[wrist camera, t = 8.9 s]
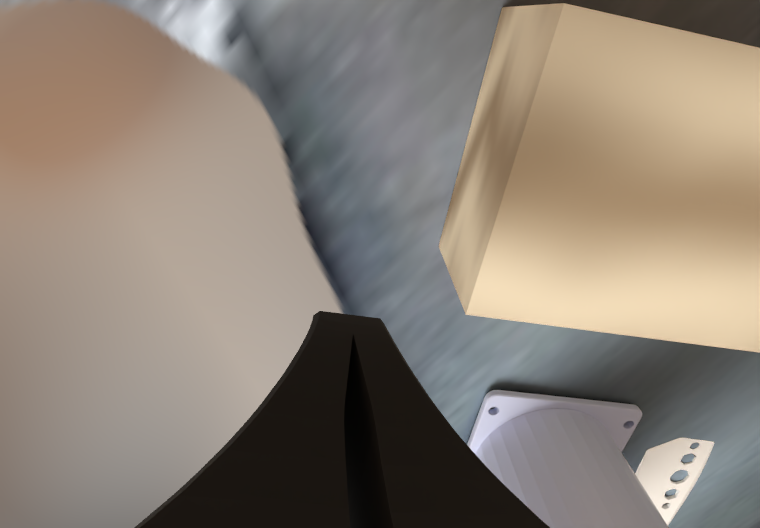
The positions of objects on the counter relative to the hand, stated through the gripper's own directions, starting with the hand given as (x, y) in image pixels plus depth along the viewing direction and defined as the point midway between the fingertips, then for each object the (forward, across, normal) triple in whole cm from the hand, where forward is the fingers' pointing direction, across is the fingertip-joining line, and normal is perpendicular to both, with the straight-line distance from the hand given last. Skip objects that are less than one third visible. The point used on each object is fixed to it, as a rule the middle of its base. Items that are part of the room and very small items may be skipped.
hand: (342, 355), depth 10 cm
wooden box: (+9, -11, -3) cm, 15 cm away
